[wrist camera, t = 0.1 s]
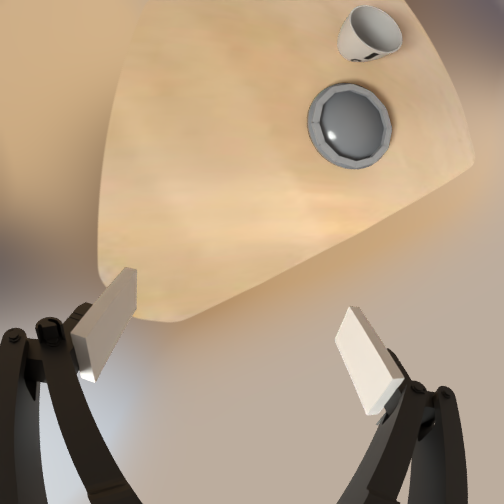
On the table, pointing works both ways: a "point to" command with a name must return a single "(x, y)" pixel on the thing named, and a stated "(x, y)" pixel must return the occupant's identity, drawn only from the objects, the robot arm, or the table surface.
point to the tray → (349, 126)
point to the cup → (368, 35)
